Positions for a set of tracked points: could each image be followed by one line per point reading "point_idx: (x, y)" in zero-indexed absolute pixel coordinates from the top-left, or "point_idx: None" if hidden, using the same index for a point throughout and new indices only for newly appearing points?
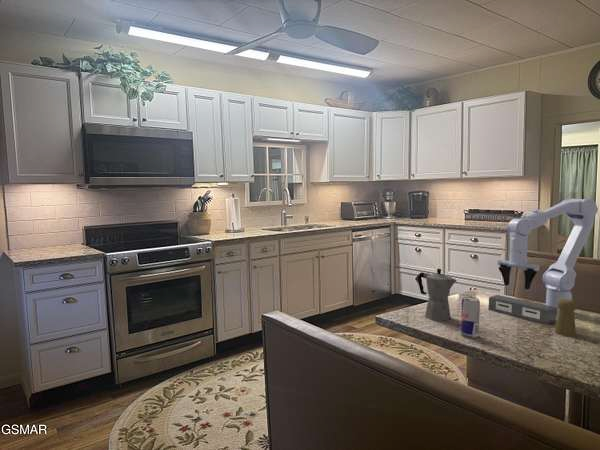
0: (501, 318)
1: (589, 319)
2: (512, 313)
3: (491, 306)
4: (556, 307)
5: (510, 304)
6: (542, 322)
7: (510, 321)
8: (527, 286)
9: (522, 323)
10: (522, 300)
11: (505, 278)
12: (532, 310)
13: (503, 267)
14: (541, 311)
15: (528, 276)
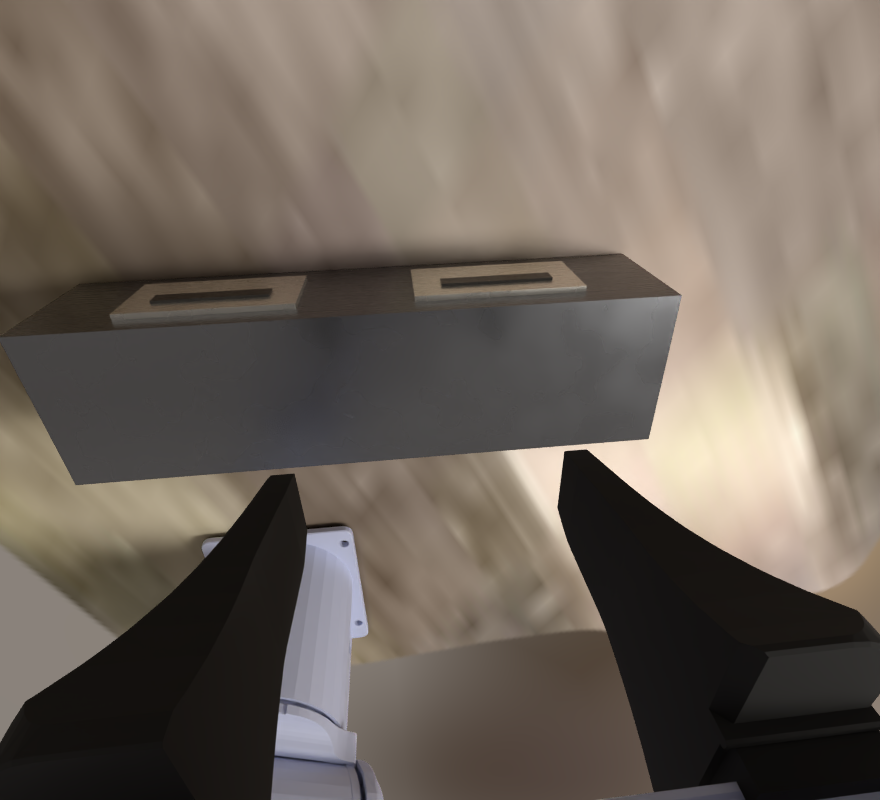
0: (407, 79)
1: (97, 596)
2: (402, 273)
3: (609, 266)
4: (80, 482)
5: (427, 295)
6: (132, 283)
7: (294, 55)
8: (252, 508)
9: (193, 101)
10: (395, 449)
11: (612, 512)
12: (191, 304)
13: (780, 698)
14: (97, 318)
15: (134, 636)
